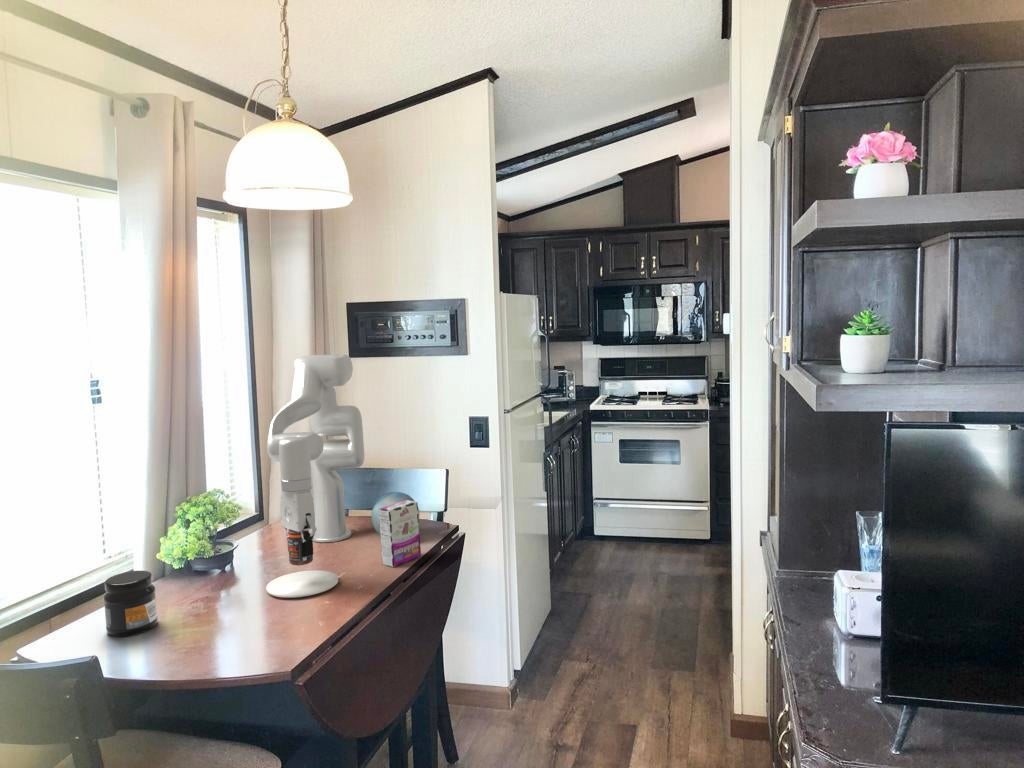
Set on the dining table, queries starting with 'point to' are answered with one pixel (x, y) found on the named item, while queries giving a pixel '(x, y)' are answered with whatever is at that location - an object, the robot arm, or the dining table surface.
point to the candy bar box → (399, 533)
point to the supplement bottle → (297, 549)
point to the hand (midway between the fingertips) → (300, 552)
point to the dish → (302, 584)
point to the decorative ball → (386, 501)
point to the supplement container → (130, 603)
